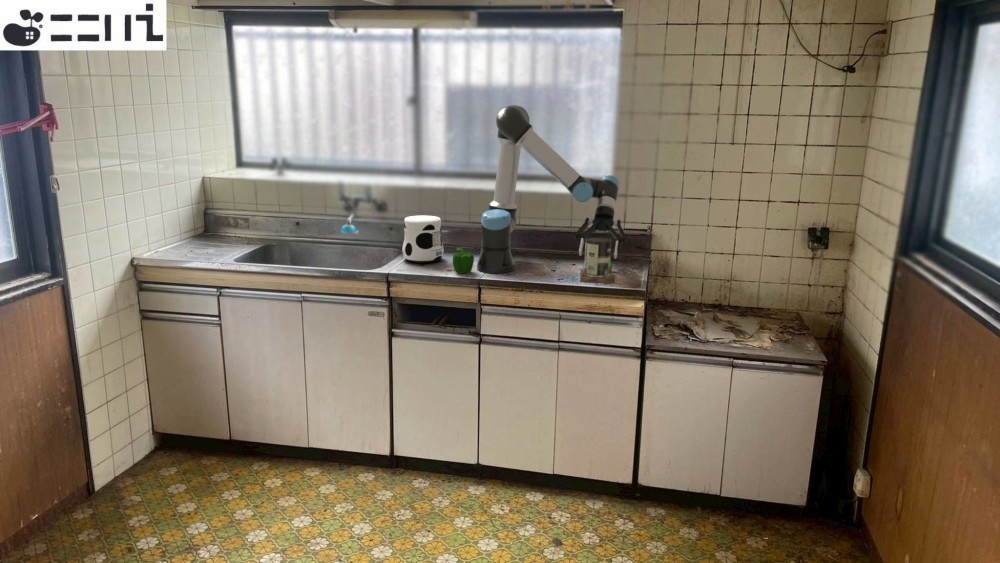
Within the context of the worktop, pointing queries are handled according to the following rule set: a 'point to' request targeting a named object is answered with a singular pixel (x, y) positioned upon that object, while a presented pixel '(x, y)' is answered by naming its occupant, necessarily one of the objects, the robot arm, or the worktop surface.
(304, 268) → the worktop surface
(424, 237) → the milk container
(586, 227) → the robot arm
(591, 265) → the coffee can
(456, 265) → the bell pepper
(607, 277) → the can seat
